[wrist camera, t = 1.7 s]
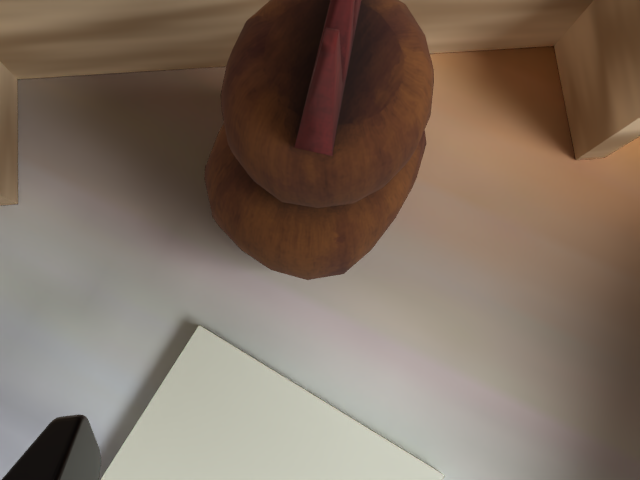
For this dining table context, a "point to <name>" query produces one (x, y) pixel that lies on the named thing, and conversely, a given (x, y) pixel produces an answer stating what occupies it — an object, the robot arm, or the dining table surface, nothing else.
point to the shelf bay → (241, 3)
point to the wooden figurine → (319, 131)
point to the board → (250, 428)
